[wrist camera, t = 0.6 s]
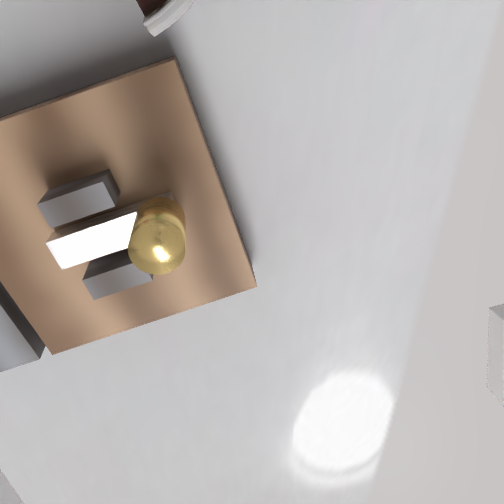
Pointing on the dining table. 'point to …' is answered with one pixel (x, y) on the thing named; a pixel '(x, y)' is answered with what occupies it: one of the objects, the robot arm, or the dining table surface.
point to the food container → (162, 13)
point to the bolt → (127, 236)
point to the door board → (104, 201)
